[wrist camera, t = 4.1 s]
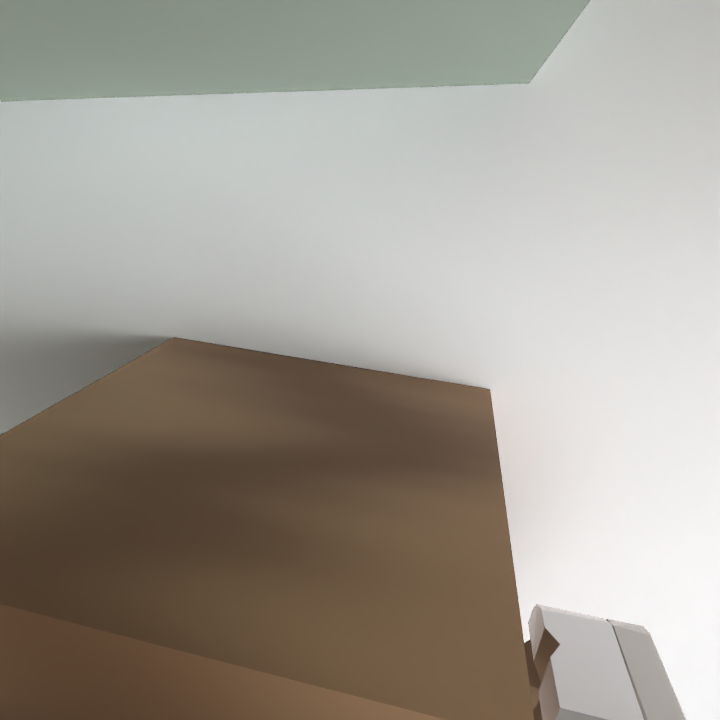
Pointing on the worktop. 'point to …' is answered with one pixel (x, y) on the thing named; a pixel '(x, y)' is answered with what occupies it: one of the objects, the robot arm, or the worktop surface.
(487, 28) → the sage box
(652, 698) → the robot arm
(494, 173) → the worktop surface
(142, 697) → the walnut block
